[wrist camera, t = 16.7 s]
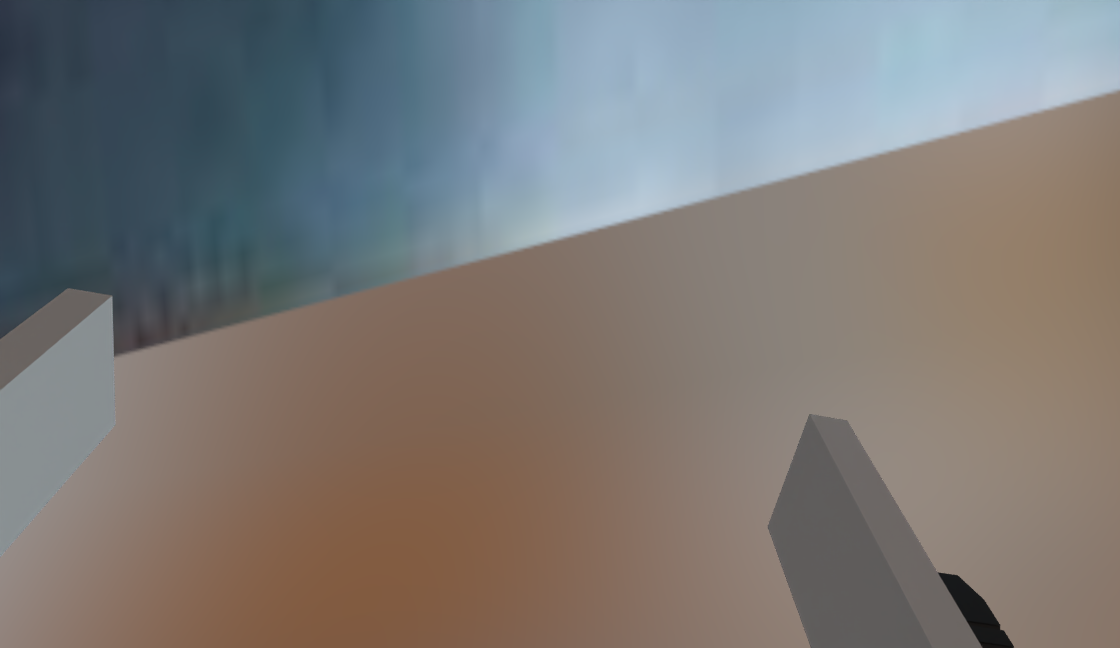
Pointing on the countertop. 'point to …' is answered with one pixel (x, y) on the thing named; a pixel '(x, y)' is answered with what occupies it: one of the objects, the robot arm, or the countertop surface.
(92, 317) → the robot arm
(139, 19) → the countertop surface
